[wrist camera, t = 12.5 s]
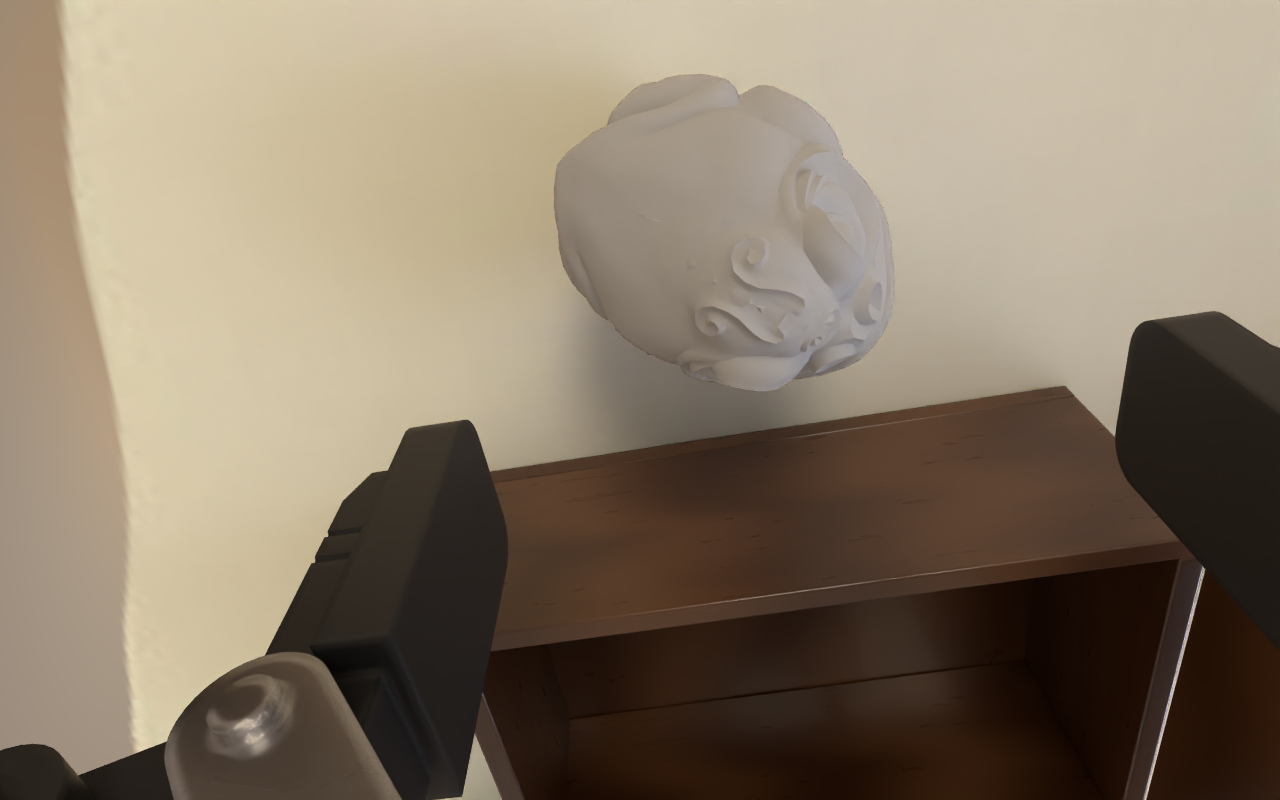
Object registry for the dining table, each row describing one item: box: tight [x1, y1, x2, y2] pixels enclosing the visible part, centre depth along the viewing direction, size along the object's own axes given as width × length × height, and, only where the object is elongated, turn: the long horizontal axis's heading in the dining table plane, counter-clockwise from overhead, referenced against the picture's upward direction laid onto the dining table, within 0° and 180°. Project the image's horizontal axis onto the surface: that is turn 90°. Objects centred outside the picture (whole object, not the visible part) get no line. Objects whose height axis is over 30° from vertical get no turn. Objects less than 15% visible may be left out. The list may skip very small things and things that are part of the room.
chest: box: [475, 386, 1203, 800], centre depth 23 cm, size 17×11×7 cm, turn 99°
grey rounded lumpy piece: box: [554, 74, 894, 392], centre depth 17 cm, size 6×7×7 cm
